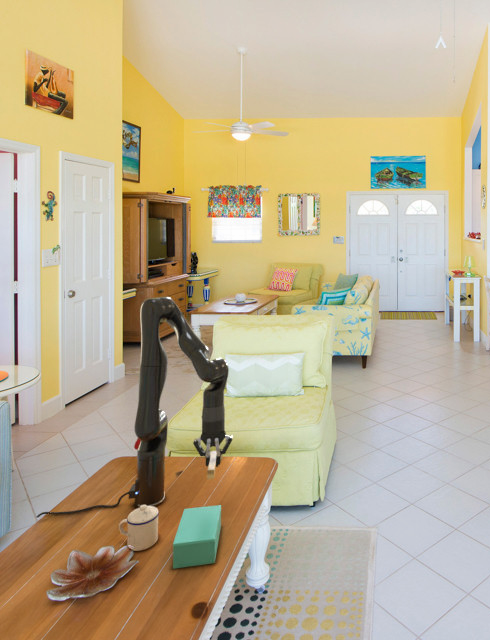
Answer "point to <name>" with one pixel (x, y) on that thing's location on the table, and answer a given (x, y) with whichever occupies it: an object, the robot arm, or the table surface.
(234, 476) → the table surface
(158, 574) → the table surface
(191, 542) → the lunchbox lid
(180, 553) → the box
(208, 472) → the spoon
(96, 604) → the table surface
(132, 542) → the teacup with lid
